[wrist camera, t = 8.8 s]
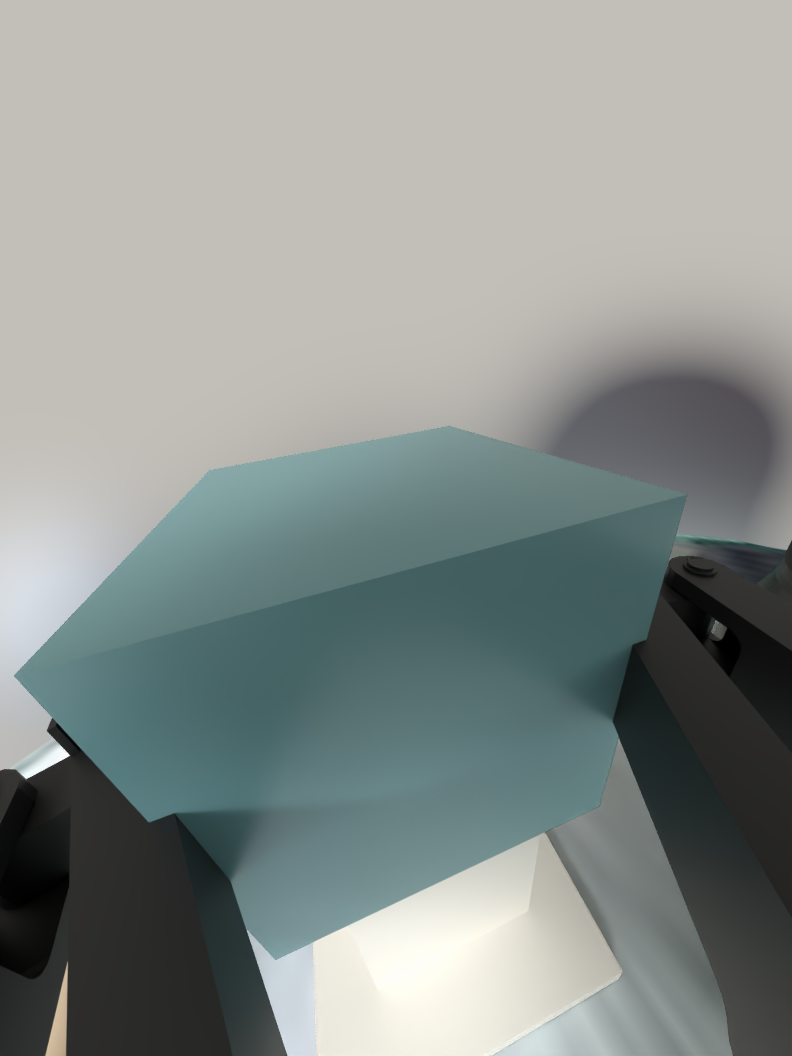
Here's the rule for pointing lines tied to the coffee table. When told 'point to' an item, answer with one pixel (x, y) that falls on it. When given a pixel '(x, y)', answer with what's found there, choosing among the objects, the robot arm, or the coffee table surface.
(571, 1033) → the coffee table surface
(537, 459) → the aqua blue cube
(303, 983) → the coffee table surface
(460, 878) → the off-white box
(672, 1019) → the coffee table surface
